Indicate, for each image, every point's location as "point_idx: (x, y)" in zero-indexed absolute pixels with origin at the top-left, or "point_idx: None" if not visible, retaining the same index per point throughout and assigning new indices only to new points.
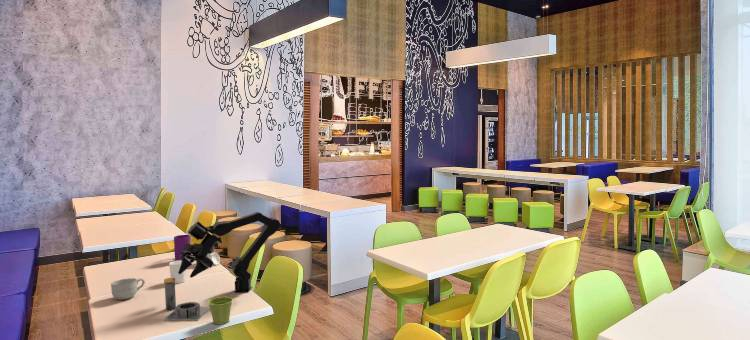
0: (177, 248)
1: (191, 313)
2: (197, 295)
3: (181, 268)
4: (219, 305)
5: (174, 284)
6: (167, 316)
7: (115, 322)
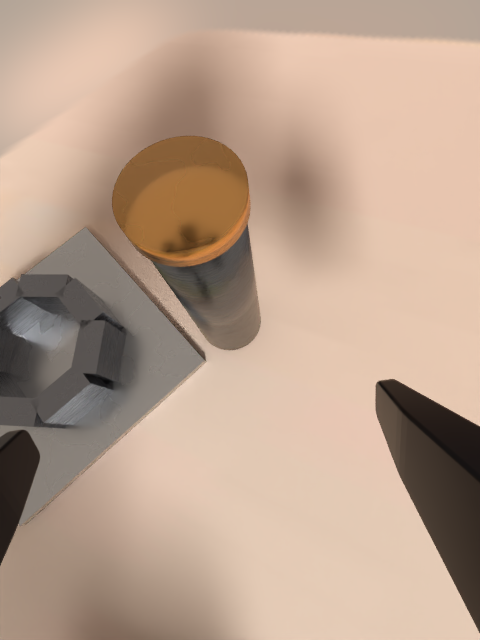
0: None
1: None
2: (387, 611)
3: (428, 449)
4: None
5: (156, 265)
6: (106, 254)
7: (254, 83)
